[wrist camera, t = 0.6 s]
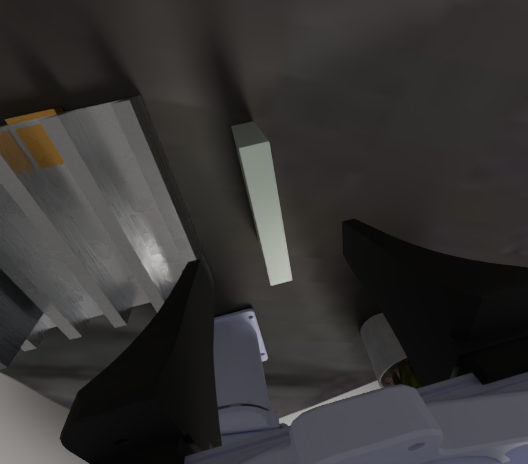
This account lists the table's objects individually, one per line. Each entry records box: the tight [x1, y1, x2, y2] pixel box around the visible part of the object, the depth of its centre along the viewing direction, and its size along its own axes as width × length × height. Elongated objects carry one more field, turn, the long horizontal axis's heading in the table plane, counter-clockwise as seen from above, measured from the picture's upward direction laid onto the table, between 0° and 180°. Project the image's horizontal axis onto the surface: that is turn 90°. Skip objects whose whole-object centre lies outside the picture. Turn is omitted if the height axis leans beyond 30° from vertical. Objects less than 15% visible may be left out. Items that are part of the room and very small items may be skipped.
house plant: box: [360, 313, 422, 389], centre depth 27 cm, size 14×14×16 cm
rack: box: [0, 95, 214, 369], centre depth 18 cm, size 16×16×7 cm
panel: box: [231, 121, 292, 286], centre depth 19 cm, size 10×2×6 cm, turn 10°
